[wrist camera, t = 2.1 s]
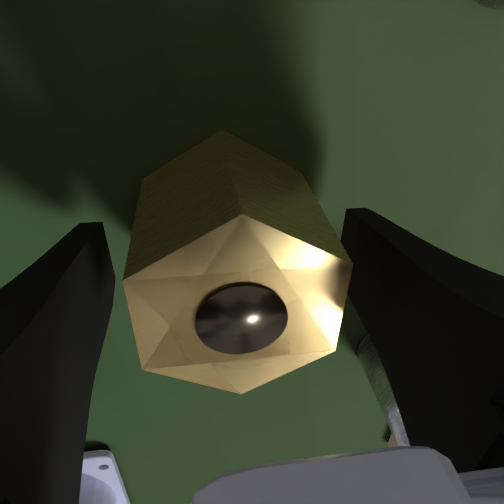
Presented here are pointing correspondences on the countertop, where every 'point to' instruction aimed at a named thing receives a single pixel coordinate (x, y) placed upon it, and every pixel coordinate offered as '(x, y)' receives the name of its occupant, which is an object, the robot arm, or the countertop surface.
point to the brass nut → (232, 268)
